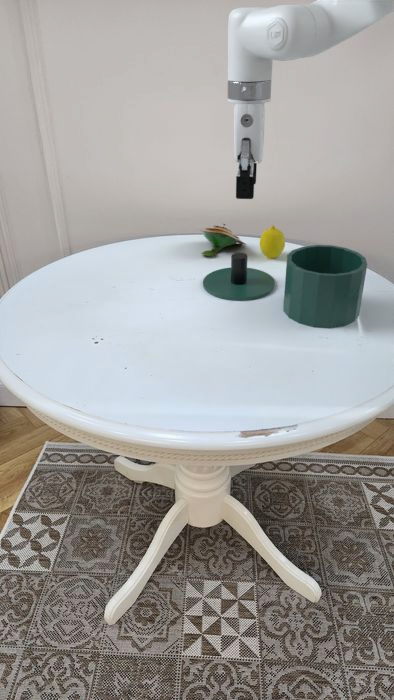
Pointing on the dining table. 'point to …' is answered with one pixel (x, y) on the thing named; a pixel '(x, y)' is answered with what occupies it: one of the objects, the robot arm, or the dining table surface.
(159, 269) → the dining table surface
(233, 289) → the lid
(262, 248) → the fruit
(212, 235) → the green brown turtle figurine
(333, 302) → the pot
